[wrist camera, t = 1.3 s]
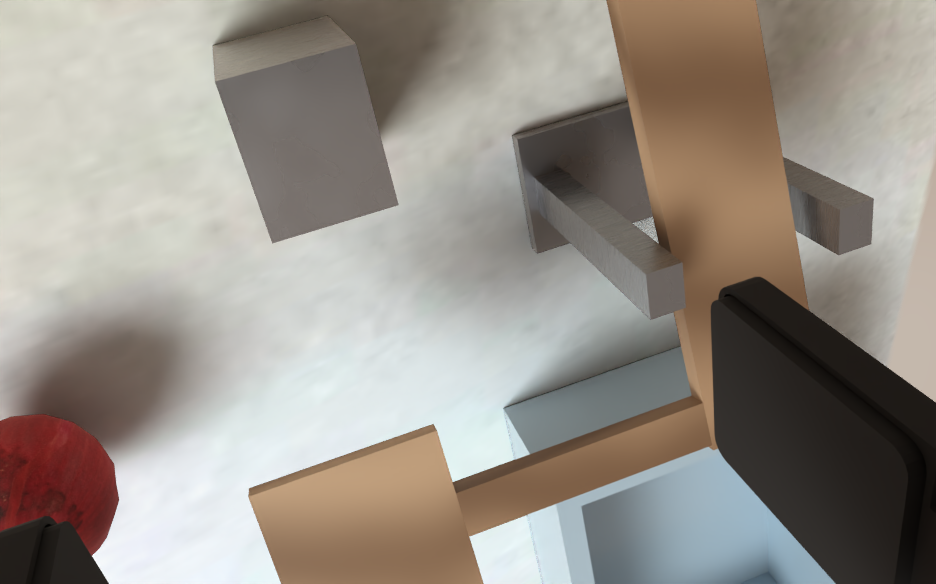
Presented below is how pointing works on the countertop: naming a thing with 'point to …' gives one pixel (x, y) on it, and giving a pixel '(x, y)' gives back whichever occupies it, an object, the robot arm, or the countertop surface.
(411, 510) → the lever
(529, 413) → the dish
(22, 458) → the onion
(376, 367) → the countertop surface
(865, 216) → the fulcrum
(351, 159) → the iron block
